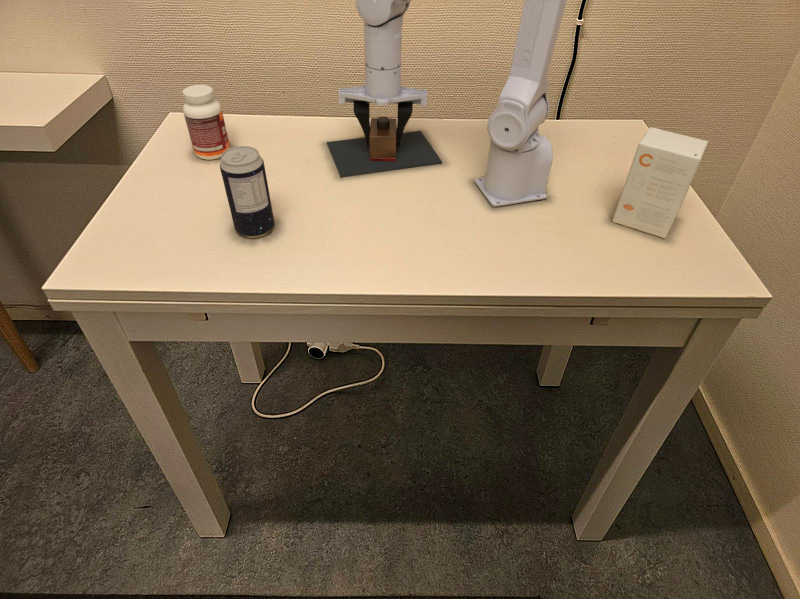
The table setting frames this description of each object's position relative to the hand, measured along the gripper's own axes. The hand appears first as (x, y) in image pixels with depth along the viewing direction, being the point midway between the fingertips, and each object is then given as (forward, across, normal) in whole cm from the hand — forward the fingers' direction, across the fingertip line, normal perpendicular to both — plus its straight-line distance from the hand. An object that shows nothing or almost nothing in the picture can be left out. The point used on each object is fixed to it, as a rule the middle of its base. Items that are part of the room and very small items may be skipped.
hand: (383, 143), depth 93 cm
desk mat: (+2, 0, 0) cm, 2 cm away
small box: (+2, +40, -19) cm, 45 cm away
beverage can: (+2, -18, -23) cm, 30 cm away
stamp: (+2, 0, 0) cm, 2 cm away
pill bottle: (+2, -30, -1) cm, 30 cm away
